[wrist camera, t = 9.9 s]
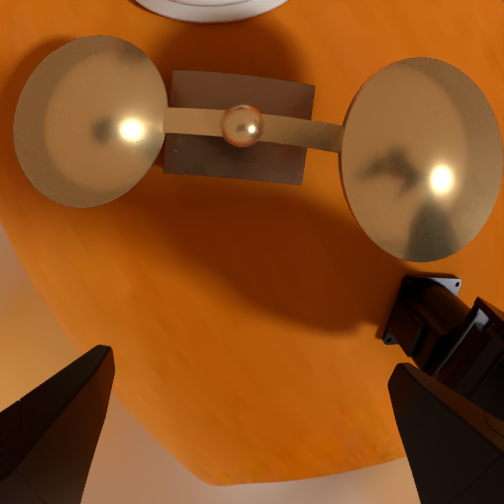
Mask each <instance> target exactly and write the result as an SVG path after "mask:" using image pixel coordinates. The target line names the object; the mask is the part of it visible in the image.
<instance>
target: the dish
mask: <svg viewBox="0 0 504 504" xmlns="http://www.w3.org/2000/svg"><path fill="white" fill-rule="evenodd" d="M135 1H137V2H138V3H139V4H140V5H141V6H143V7H144V8H146V9H148V10H150V11H151V12H153V13H156V14H158V15H160V16H163V17H166V18H169V19H173V20H177V21H182V22H188V23H199V24H217V23H229V22H235V21H240V20H245V19H249V18H252V17H256V16H259V15H261V14H264V13H267V12H269V11H271V10H273V9H275V8H277V7H279V6H281V5H282V4H284V3H286V2H287V1H289V0H135Z"/></svg>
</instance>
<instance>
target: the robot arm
mask: <svg viewBox="0 0 504 504" xmlns="http://www.w3.org/2000/svg"><path fill="white" fill-rule="evenodd" d="M409 280H410V281H409ZM408 281H409V282H408ZM407 282H408V283H407ZM460 286H461V280H460V279H459V278H458V277H444V276H426V275H406V276H405V277H404V278H403V280H402V283H401V286H400V290H399V293H398V296H397V299H396V301H395V304H394V307H393V310H392V312H391V315H390V318H389V321H388V324H387V327H386V330H385V332H384V335H383V338H382V341H383V342H384V344H386V345H393V344H399V345H400V347H401V348H402V349H403V351H404V352H405V354H406V355H407V357H411V358H412V360H413V361H414V362H415V364H416V365H417V367H418V368H419V369H418V368H416V367H415V366H413V365H412V364H410V363H399V364H397V365H396V367H395V369H394V371H393V373H392V375H391V377H390V379H389V381H388V390H389V394H390V398H391V403H392V407H393V411H394V416H395V420H396V424H397V427H398V430H399V433H400V436H401V439H402V443H403V446H404V449H405V452H406V455H407V458H408V461H409V465H410V468H411V471H412V474H413V478H414V481H415V485H416V488H417V491H418V495H419V499H420V502H421V504H504V312H503V311H501V310H499V309H498V308H496V307H495V306H493V305H491V304H490V303H488V302H486V301H485V300H483V299H482V298H480V297H477V298H476V300H475V302H474V303H475V304H474V305H473V307H472V308H471V309H470V308H469V307H468V306H467V305H466V304H465V303H464V302H462V301H461V300H460V299H459V298H458V297H457V294H458V292H459V289H460ZM388 338H389V339H388ZM387 339H388V340H387ZM114 375H115V364H114V357H113V350H112V348H111V347H110V346H106V345H97V346H95V347H94V348H92V349H91V350H89V351H88V352H87V353H85V354H84V355H82V356H81V357H79V358H78V359H76V360H75V361H74V362H72V363H71V364H69V365H68V366H66V367H65V368H63V369H62V370H61V371H59V372H58V373H56V374H55V375H53V376H52V377H51V378H49V379H48V380H46V381H45V382H43V383H42V384H41V385H39V386H38V387H36V388H35V389H33V390H32V391H31V392H29V393H28V394H26V395H25V396H24V397H22V398H21V399H20V401H19V400H18V401H16V402H15V403H14V404H12V405H10V406H9V407H8V408H6V409H4V410H3V411H2V412H0V504H80V503H81V499H82V495H83V491H84V488H85V484H86V481H87V477H88V473H89V470H90V466H91V463H92V459H93V456H94V453H95V449H96V446H97V443H98V440H99V436H100V433H101V430H102V427H103V424H104V421H105V417H106V413H107V407H108V403H109V398H110V393H111V388H112V384H113V379H114Z"/></svg>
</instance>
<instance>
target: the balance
mask: <svg viewBox="0 0 504 504" xmlns="http://www.w3.org/2000/svg"><path fill="white" fill-rule="evenodd" d="M314 92H315V86H314V85H309V84H304V83H298V82H292V81H286V80H280V79H273V78H266V77H259V76H251V75H242V74H232V73H221V72H207V71H189V70H173V75H172V83H171V91H170V100H169V104H168V96H167V91H166V87H165V84H164V81H163V79H162V76H161V74H160V72H159V71H158V69H157V67H156V66H155V64H154V63H153V62H152V60H151V59H150V58H149V57H148V56H147V55H146V54H145V53H144V52H143V51H141V50H140V49H139V48H138V47H136V46H135V45H133V44H131V43H129V42H127V41H125V40H123V39H120V38H116V37H112V36H103V35H99V36H88V37H83V38H79V39H76V40H73V41H71V42H68V43H66V44H64V45H62V46H61V47H59V48H58V49H56V50H55V51H53V52H52V53H51V54H49V55H48V56H47V57H46V58H45V59H44V60H43V61H42V62H41V63H40V64H39V65H38V66H37V67H36V68H35V70H34V71H33V72H32V74H31V75H30V77H29V78H28V80H27V82H26V83H25V85H24V87H23V89H22V92H21V94H20V96H19V99H18V102H17V106H16V110H15V115H14V124H13V138H14V147H15V151H16V155H17V158H18V161H19V164H20V166H21V168H22V170H23V172H24V174H25V176H26V177H27V179H28V180H29V181H30V183H31V184H32V185H33V186H34V187H35V188H36V189H37V190H38V191H39V192H40V193H41V194H43V195H44V196H45V197H47V198H49V199H50V200H52V201H54V202H56V203H59V204H61V205H65V206H69V207H76V208H89V207H94V206H99V205H102V204H105V203H108V202H111V201H113V200H115V199H117V198H119V197H120V196H122V195H123V194H125V193H126V192H128V191H129V190H130V189H132V188H133V187H134V186H135V185H136V184H137V183H139V181H140V180H141V179H142V178H143V177H144V176H145V175H146V174H147V172H148V171H149V170H150V168H151V167H152V166H153V164H154V162H155V160H156V159H157V157H158V155H159V153H160V150H161V148H162V145H163V143H164V139H165V136H166V140H165V153H164V167H163V173H172V174H188V175H202V176H215V177H226V178H237V179H248V180H258V181H267V182H276V183H285V184H293V185H301V186H302V180H303V173H304V166H305V159H306V152H307V148H313V149H319V150H325V151H331V152H336V153H338V158H339V173H340V180H341V186H342V189H343V193H344V197H345V200H346V202H347V205H348V207H349V210H350V212H351V213H352V215H353V217H354V219H355V221H356V222H357V224H358V225H359V226H360V228H361V229H362V231H363V232H364V233H365V234H366V235H367V236H368V237H369V238H370V239H371V240H372V241H373V242H374V243H375V244H376V245H378V246H379V247H380V248H382V249H383V250H384V251H386V252H387V253H389V254H391V255H393V256H395V257H397V258H400V259H403V260H406V261H412V262H430V261H436V260H439V259H442V258H445V257H447V256H450V255H452V254H454V253H455V252H457V251H458V250H460V249H462V248H463V247H464V246H465V245H467V244H468V243H469V242H470V241H471V240H472V239H473V238H474V237H475V236H476V235H477V234H478V232H479V231H480V230H481V228H482V227H483V226H484V224H485V223H486V221H487V219H488V218H489V216H490V214H491V212H492V210H493V207H494V205H495V202H496V200H497V197H498V194H499V190H500V186H501V180H502V173H503V147H502V139H501V134H500V130H499V126H498V123H497V120H496V117H495V114H494V112H493V110H492V108H491V106H490V104H489V102H488V100H487V99H486V97H485V95H484V94H483V93H482V91H481V90H480V89H479V87H478V86H477V85H476V84H475V83H474V82H473V81H472V80H471V79H470V78H469V77H468V76H467V75H466V74H464V73H463V72H462V71H461V70H459V69H457V68H456V67H454V66H452V65H450V64H448V63H446V62H443V61H441V60H437V59H432V58H423V57H416V58H408V59H404V60H401V61H397V62H394V63H391V64H389V65H387V66H385V67H383V68H381V69H380V70H378V71H377V72H376V73H374V74H373V75H372V76H371V77H369V79H368V80H367V81H366V82H365V83H364V84H363V85H362V86H361V87H360V89H359V90H358V92H357V93H356V95H355V96H354V98H353V100H352V102H351V104H350V106H349V108H348V110H347V113H346V116H345V119H344V122H343V125H342V126H339V125H334V124H329V123H323V122H317V121H311V116H312V108H313V100H314Z"/></svg>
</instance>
